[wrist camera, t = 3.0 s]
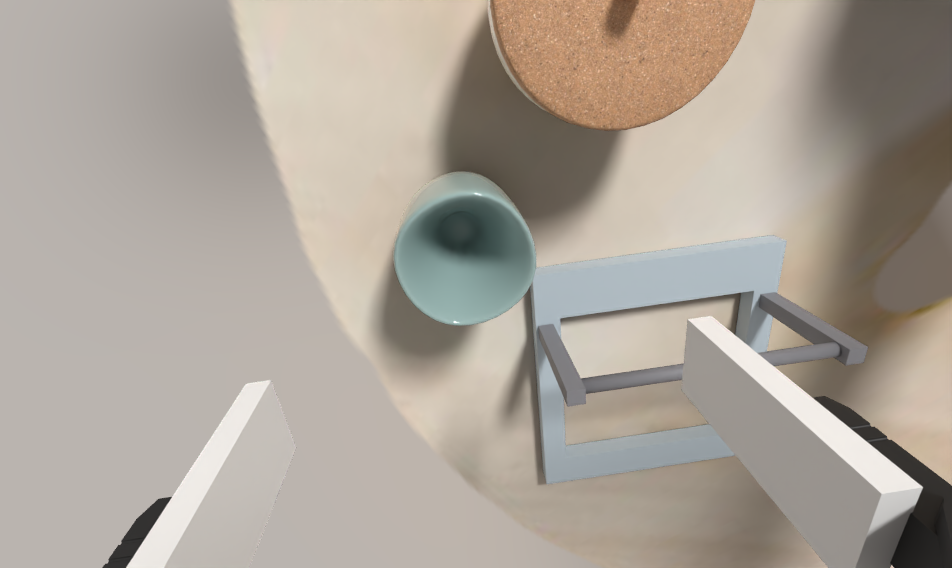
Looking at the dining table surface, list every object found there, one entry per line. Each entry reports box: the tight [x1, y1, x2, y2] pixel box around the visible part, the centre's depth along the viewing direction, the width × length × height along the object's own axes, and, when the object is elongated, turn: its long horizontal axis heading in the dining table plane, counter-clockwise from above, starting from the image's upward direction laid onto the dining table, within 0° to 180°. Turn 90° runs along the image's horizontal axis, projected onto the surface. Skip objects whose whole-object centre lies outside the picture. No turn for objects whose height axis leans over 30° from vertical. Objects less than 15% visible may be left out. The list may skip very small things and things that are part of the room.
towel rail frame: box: [530, 235, 868, 484], centre depth 35 cm, size 22×20×10 cm
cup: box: [393, 171, 536, 326], centre depth 28 cm, size 8×8×10 cm
